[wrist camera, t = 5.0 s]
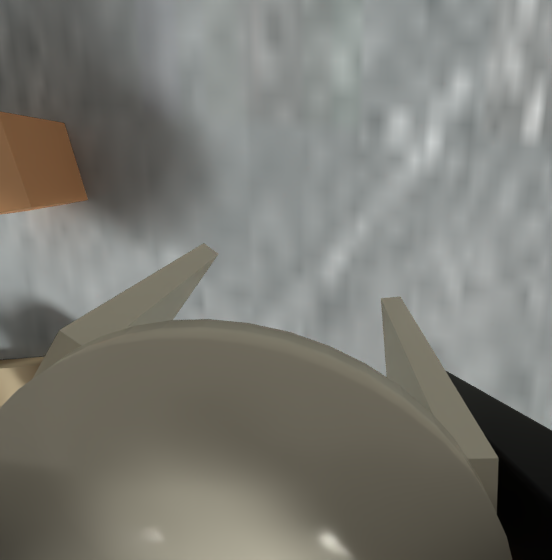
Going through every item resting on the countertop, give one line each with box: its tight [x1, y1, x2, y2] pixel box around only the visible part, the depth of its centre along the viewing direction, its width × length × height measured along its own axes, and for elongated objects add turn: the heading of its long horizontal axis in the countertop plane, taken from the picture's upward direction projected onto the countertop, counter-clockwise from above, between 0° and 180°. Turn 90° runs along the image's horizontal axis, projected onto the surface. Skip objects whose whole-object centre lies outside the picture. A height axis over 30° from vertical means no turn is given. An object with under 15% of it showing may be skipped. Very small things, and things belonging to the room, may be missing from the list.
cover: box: [0, 243, 512, 560], centre depth 7 cm, size 7×7×6 cm
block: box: [0, 112, 88, 214], centre depth 17 cm, size 4×4×4 cm
